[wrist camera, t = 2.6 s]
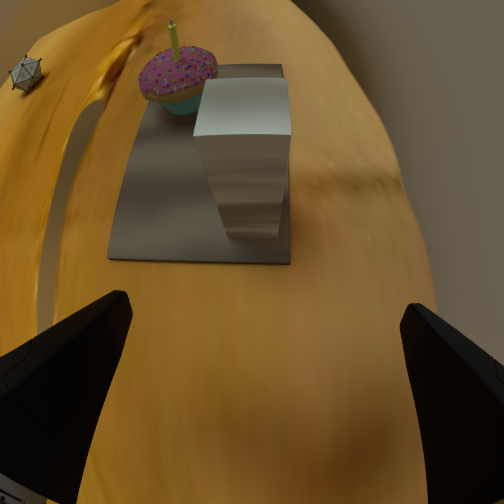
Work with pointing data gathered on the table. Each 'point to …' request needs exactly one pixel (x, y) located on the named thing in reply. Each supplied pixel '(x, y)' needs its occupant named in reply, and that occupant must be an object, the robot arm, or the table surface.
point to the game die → (26, 74)
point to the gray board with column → (211, 176)
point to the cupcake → (178, 76)
